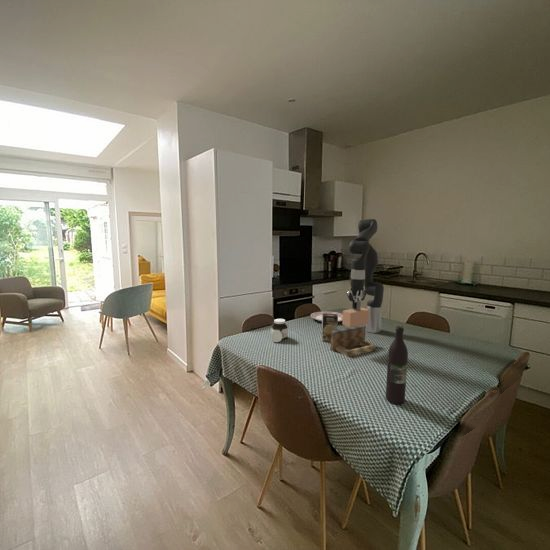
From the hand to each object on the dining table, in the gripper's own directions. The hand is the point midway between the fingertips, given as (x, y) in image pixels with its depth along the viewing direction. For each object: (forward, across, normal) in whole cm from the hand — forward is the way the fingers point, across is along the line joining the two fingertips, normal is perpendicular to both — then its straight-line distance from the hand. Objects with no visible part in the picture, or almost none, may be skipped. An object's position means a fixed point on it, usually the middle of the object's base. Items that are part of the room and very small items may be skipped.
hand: (356, 308), depth 164 cm
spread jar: (+24, +30, -34) cm, 52 cm away
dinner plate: (+25, -24, -54) cm, 64 cm away
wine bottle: (+24, +21, +46) cm, 56 cm away
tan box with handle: (+9, 0, 0) cm, 9 cm away
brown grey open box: (+24, 0, 0) cm, 24 cm away
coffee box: (+24, +3, -19) cm, 31 cm away
